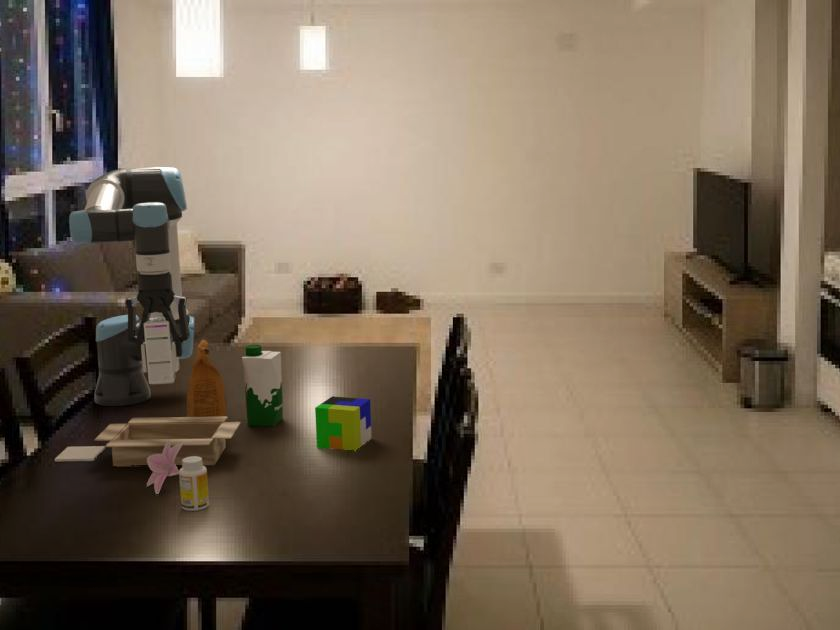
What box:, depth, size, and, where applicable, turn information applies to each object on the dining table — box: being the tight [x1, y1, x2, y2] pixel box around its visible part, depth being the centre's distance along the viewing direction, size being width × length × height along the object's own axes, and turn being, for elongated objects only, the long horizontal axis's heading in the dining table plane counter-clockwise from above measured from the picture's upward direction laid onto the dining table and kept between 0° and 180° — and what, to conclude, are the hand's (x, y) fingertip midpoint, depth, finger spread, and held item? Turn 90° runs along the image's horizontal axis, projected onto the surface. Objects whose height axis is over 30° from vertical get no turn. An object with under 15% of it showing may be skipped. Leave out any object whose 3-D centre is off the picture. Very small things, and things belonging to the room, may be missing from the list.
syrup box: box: [144, 317, 176, 385], centre depth 244 cm, size 6×6×14 cm
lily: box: [146, 440, 183, 495], centre depth 229 cm, size 12×12×10 cm
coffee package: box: [186, 339, 227, 422], centre depth 268 cm, size 10×12×22 cm
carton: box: [94, 415, 241, 467], centre depth 248 cm, size 21×31×6 cm
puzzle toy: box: [314, 395, 372, 452], centre depth 254 cm, size 10×10×10 cm
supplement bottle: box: [178, 456, 210, 512], centre depth 216 cm, size 6×6×10 cm
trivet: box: [54, 445, 106, 462], centre depth 251 cm, size 9×9×1 cm
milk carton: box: [241, 344, 284, 427], centre depth 272 cm, size 9×9×20 cm
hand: (161, 370), depth 245 cm, fingers closed on syrup box, 6 cm apart
